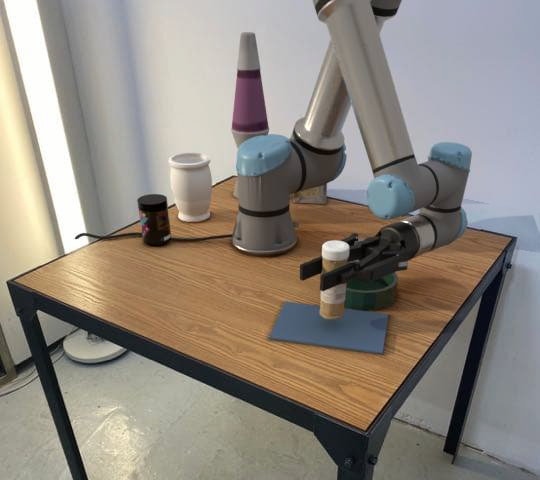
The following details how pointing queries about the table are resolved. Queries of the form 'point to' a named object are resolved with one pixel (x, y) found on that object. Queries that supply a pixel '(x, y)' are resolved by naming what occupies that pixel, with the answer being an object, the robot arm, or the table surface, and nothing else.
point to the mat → (331, 328)
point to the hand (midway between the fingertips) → (311, 277)
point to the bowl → (370, 293)
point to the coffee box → (311, 195)
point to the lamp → (248, 95)
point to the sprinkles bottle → (334, 297)
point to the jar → (191, 185)
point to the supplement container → (154, 219)
